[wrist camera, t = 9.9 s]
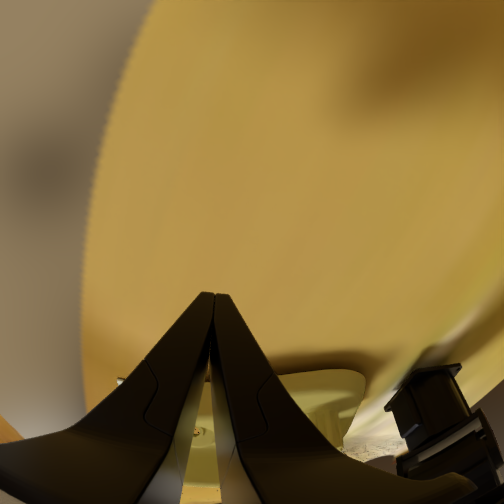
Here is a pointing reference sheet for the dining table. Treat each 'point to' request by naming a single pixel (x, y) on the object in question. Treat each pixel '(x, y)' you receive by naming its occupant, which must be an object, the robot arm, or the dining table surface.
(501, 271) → the dining table surface
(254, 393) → the robot arm
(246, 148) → the dining table surface
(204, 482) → the plastic component
